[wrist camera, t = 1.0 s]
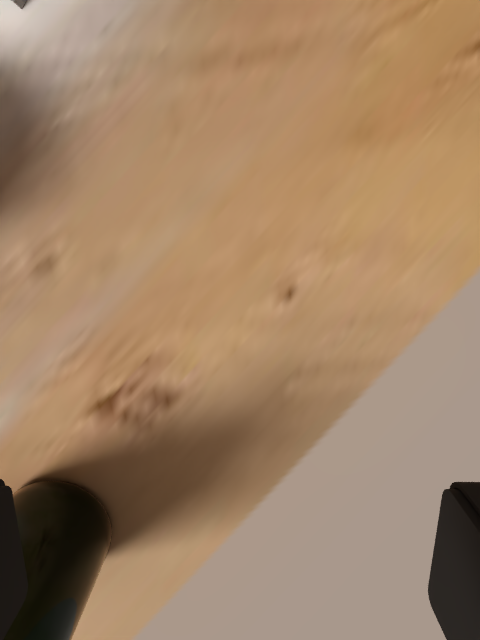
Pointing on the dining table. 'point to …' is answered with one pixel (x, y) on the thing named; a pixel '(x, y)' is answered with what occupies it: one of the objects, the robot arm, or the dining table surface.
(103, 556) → the beer bottle
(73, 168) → the dining table surface
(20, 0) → the slate board
